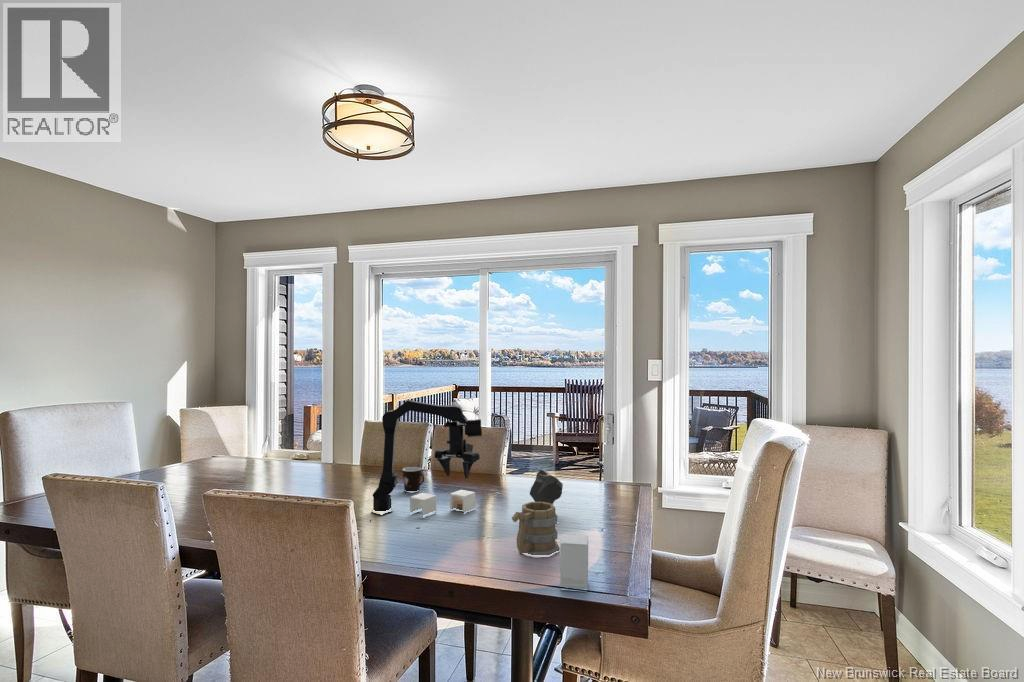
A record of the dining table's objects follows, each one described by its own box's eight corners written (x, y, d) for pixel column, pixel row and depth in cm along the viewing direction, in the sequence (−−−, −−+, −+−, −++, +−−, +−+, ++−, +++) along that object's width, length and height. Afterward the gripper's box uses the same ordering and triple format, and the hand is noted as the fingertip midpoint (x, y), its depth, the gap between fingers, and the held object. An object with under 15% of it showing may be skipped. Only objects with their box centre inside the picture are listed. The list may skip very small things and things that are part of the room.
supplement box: (587, 593, 137) (587, 544, 137) (559, 591, 138) (559, 542, 138) (588, 581, 144) (588, 535, 144) (561, 578, 145) (561, 533, 146)
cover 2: (464, 514, 202) (464, 496, 202) (449, 511, 206) (450, 493, 206) (475, 509, 208) (475, 492, 208) (460, 506, 212) (460, 489, 212)
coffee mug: (400, 490, 237) (400, 468, 237) (418, 488, 240) (419, 466, 241) (406, 496, 226) (406, 473, 226) (425, 494, 230) (425, 471, 230)
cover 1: (423, 518, 197) (424, 499, 197) (409, 515, 201) (409, 496, 201) (436, 513, 203) (436, 495, 203) (422, 510, 207) (422, 492, 207)
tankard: (534, 540, 175) (534, 495, 175) (566, 549, 167) (566, 502, 167) (495, 558, 160) (495, 509, 160) (528, 569, 152) (528, 517, 152)
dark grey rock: (570, 513, 204) (570, 466, 204) (556, 525, 190) (557, 475, 190) (536, 508, 210) (536, 463, 210) (520, 519, 196) (521, 471, 196)
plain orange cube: (463, 513, 204) (463, 502, 204) (455, 511, 206) (455, 501, 206) (469, 510, 208) (469, 500, 208) (461, 508, 210) (461, 498, 210)
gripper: (487, 435, 208) (488, 475, 208) (450, 433, 218) (452, 470, 218) (470, 440, 199) (471, 481, 199) (433, 437, 209) (434, 476, 209)
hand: (457, 477), depth 206 cm, fingers open, 9 cm apart
